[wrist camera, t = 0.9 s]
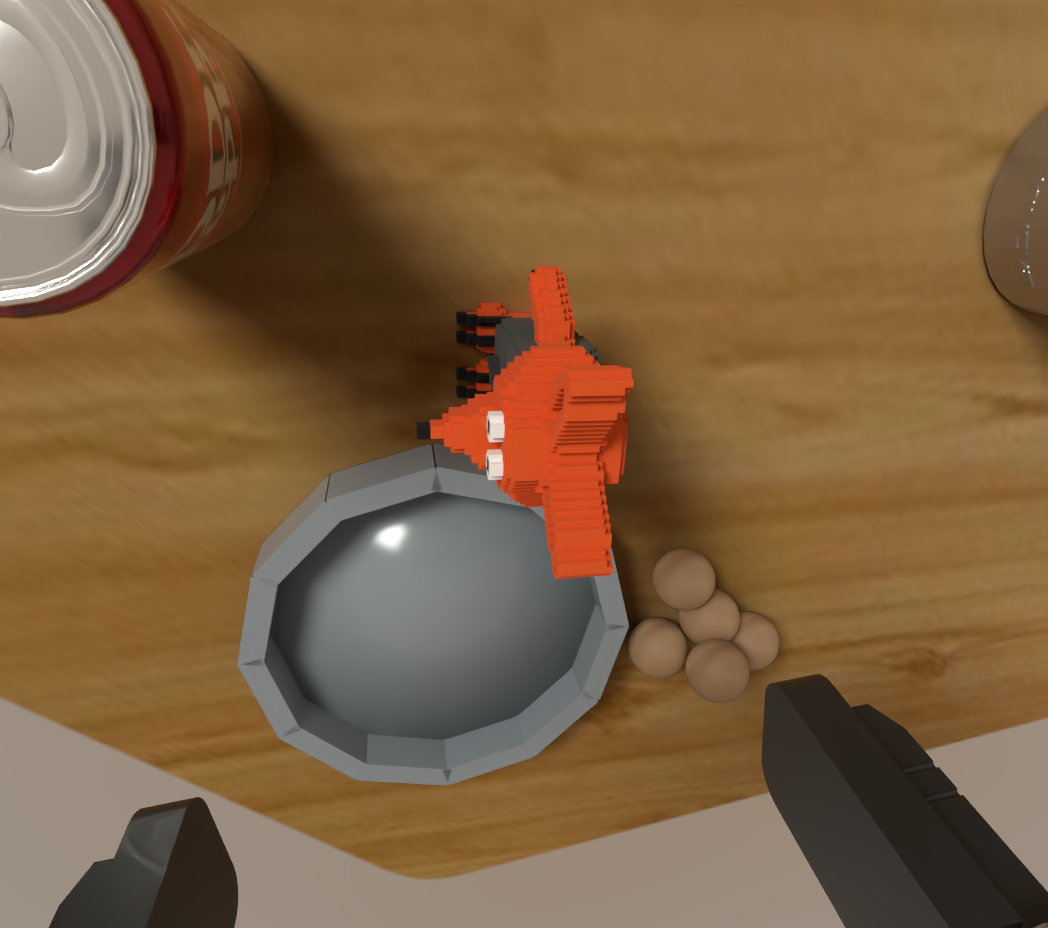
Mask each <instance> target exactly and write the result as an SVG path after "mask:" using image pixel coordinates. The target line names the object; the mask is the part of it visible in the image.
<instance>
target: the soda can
mask: <svg viewBox="0 0 1048 928" xmlns="http://www.w3.org/2000/svg"><path fill="white" fill-rule="evenodd" d="M273 158H274V145H273V129H272V125H271V121H270V117H269V113H268V109H267V105H266V102H265V100H264V98H263V95H262V93H261V91H260V88H259V86H258V84H257V81H256V80H255V78H254V76H253V75H252V73H251V72H250V70H249V69H248V67H247V66H246V64H245V62H244V61H243V59H242V58H241V56H240V55H239V54H238V53H237V52H236V51H235V50H234V49H233V47H232V46H231V45H230V44H229V43H228V42H227V41H226V40H225V39H224V37H223V36H222V35H220V34H219V33H218V32H217V31H215V30H214V29H213V28H212V27H210V26H209V25H208V24H207V23H205V22H204V21H203V20H202V19H200V18H199V17H198V16H196V15H195V14H194V13H192V12H191V11H190V10H188V9H187V8H186V7H184V6H183V5H182V4H180V3H179V2H178V1H176V0H0V318H9V319H29V318H36V317H43V316H50V315H57V314H64V313H66V312H69V311H72V310H75V309H78V308H81V307H83V306H86V305H89V304H92V303H95V302H97V301H100V300H102V299H104V298H106V297H108V296H110V295H112V294H114V293H116V292H118V291H120V290H122V289H124V288H126V287H128V286H130V285H133V284H135V283H137V282H139V281H141V280H143V279H145V278H147V277H149V276H151V275H153V274H155V273H157V272H159V271H161V270H163V269H165V268H167V267H169V266H172V265H174V264H176V263H178V262H180V261H182V260H184V259H186V258H188V257H190V256H192V255H194V254H196V253H198V252H200V251H202V250H204V249H206V248H208V247H211V246H213V245H215V244H217V243H219V242H220V241H222V240H224V239H225V238H227V237H228V236H230V235H232V234H233V233H235V232H236V231H238V230H239V229H240V228H241V227H242V226H243V225H244V224H245V223H246V222H247V221H248V220H249V219H250V218H251V217H252V215H253V214H254V212H255V211H256V209H257V208H258V206H259V204H260V203H261V201H262V200H263V198H264V195H265V192H266V190H267V187H268V184H269V181H270V178H271V173H272V165H273Z"/></svg>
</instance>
